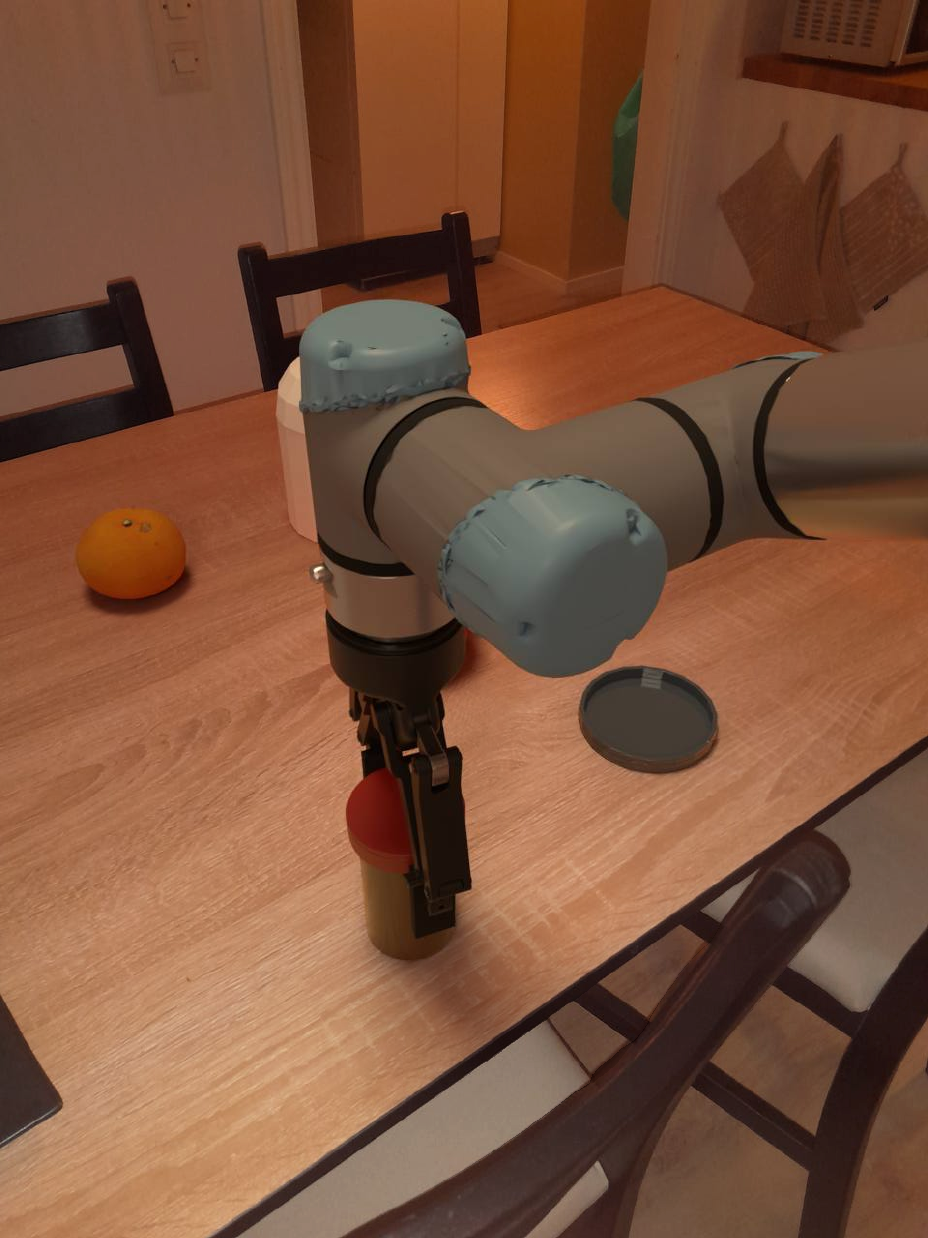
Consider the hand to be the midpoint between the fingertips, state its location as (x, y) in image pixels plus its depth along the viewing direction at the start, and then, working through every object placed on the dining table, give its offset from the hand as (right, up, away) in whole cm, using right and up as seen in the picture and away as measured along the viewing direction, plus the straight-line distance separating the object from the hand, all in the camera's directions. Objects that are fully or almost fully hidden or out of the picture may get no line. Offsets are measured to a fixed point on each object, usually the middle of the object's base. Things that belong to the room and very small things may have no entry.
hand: (408, 867), depth 65 cm
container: (-10, +29, +47) cm, 56 cm away
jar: (0, -5, +4) cm, 6 cm away
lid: (0, +5, -4) cm, 6 cm away
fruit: (-30, +20, +36) cm, 51 cm away
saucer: (+20, +8, +20) cm, 29 cm away
